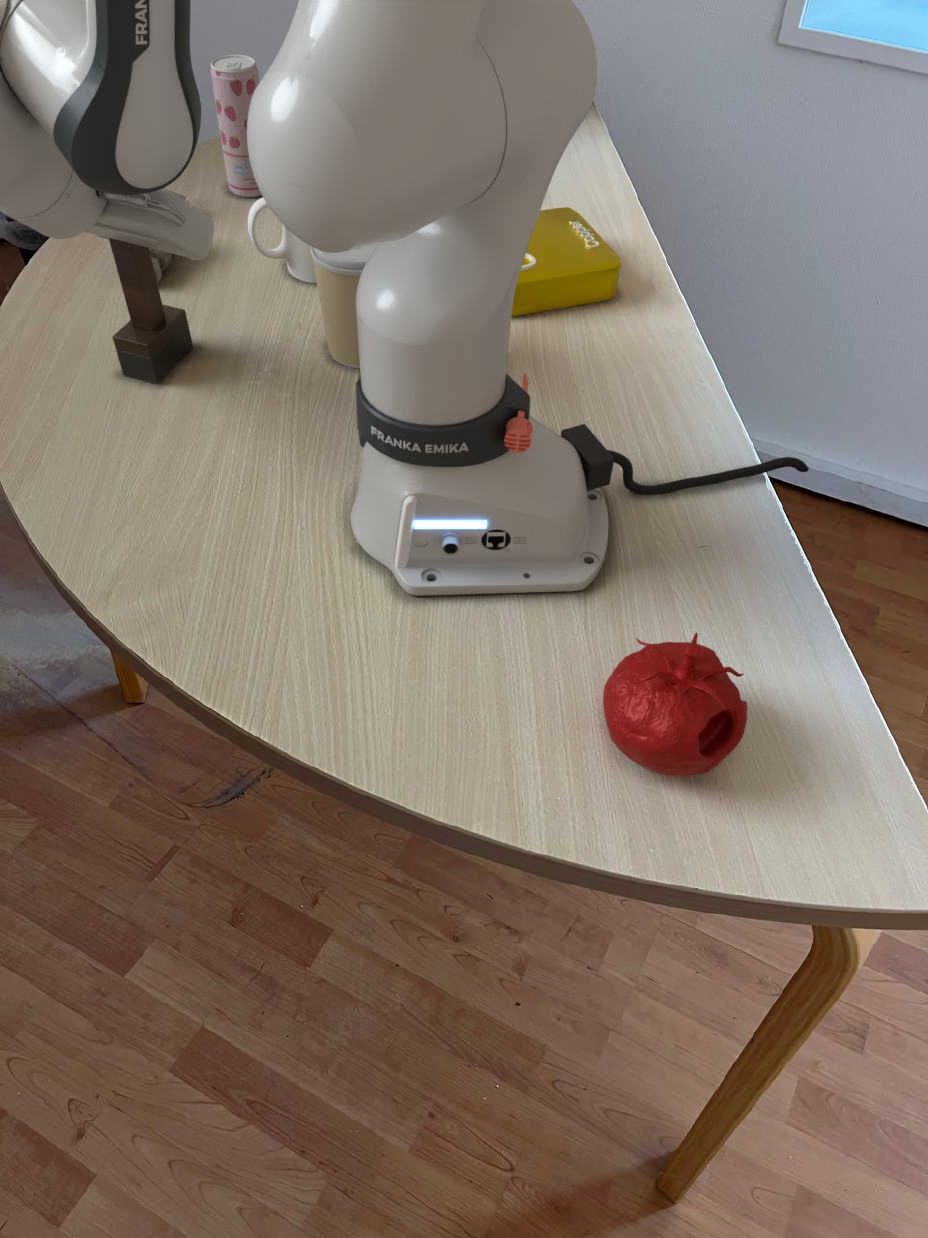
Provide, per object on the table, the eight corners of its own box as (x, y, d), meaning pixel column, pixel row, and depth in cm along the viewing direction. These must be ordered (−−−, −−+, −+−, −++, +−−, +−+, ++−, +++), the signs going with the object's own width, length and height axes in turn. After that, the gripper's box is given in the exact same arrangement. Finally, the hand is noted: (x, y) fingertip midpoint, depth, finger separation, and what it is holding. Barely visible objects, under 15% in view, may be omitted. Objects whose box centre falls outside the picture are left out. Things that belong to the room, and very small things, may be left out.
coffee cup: (427, 348, 99) (426, 239, 90) (362, 384, 94) (355, 274, 85) (367, 314, 103) (361, 207, 94) (302, 347, 98) (289, 238, 89)
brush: (160, 339, 98) (129, 214, 88) (193, 348, 98) (166, 222, 87) (123, 375, 94) (86, 248, 84) (157, 384, 93) (124, 256, 83)
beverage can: (238, 201, 119) (218, 73, 108) (222, 183, 122) (201, 57, 111) (279, 192, 121) (264, 66, 110) (263, 175, 124) (246, 50, 113)
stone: (161, 298, 105) (200, 238, 104) (118, 268, 102) (157, 206, 100) (146, 280, 113) (182, 223, 111) (105, 251, 109) (142, 193, 108)
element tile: (622, 299, 106) (629, 259, 103) (501, 320, 103) (503, 280, 99) (568, 238, 116) (573, 200, 112) (455, 255, 112) (456, 216, 108)
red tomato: (579, 767, 65) (597, 688, 58) (615, 663, 71) (636, 581, 64) (719, 814, 63) (755, 738, 56) (743, 703, 69) (779, 622, 62)
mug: (268, 296, 105) (255, 205, 97) (246, 263, 109) (231, 173, 101) (366, 274, 108) (361, 184, 100) (341, 243, 113) (334, 155, 105)
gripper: (170, 161, 72) (254, 229, 86) (-39, 115, 77) (71, 187, 90) (150, 241, 73) (236, 296, 86) (-56, 191, 78) (55, 251, 91)
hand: (150, 240), depth 88 cm, fingers open, 8 cm apart
